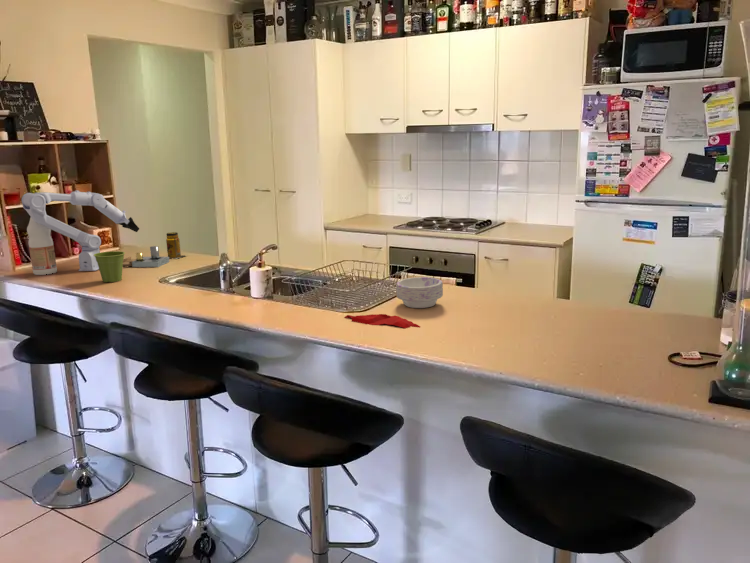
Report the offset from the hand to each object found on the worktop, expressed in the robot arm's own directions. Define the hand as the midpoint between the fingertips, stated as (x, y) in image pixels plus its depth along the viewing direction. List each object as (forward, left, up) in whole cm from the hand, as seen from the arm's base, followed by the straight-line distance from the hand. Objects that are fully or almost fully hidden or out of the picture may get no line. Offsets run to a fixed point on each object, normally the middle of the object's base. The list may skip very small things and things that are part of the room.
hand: (134, 228), depth 293 cm
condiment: (+10, -14, -16) cm, 23 cm away
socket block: (-8, -10, -15) cm, 20 cm away
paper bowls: (-77, -135, -16) cm, 157 cm away
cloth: (-96, -125, -16) cm, 159 cm away
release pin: (-12, -7, -13) cm, 19 cm away
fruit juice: (-26, +30, -16) cm, 43 cm away
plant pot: (-41, -9, -16) cm, 45 cm away
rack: (-7, 0, -15) cm, 17 cm away
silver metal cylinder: (-7, -12, -15) cm, 21 cm away
